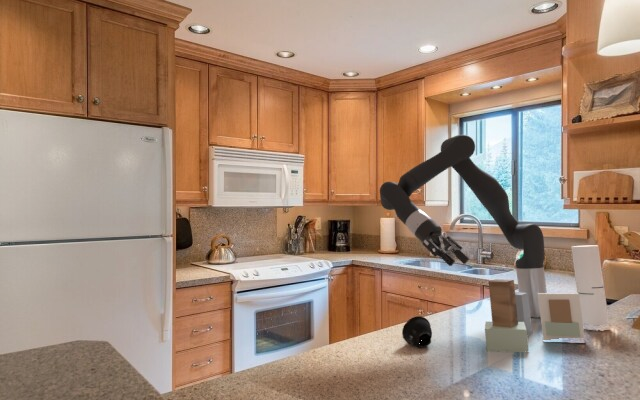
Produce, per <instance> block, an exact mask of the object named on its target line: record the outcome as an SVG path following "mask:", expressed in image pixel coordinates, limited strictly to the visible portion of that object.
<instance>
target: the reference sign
mask: <svg viewBox="0 0 640 400" xmlns="http://www.w3.org/2000/svg"><path fill="white" fill-rule="evenodd" d="M538 300H539V308H540V317H539V318H540V325H541V332H542V341H543V340H551V339H559V338H585V339H586V337H585V330H584V328H583V320H582V312H581V305H580V297H579V293H578V292H557V293H556V292H547V293H538Z"/></svg>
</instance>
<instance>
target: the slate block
mask: <svg viewBox="0 0 640 400" xmlns="http://www.w3.org/2000/svg"><path fill="white" fill-rule="evenodd" d="M515 297H516V307H517V318H518V322H524V324H525V327H526V331H527V337H528V336H529V335H531V334H533V328H532V327H533V326H532V319H531V318H532V317H530V308H529V300H528V293H519V291H518V292H517V291H515Z"/></svg>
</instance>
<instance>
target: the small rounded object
mask: <svg viewBox="0 0 640 400" xmlns="http://www.w3.org/2000/svg"><path fill="white" fill-rule="evenodd" d="M431 326H432V325H431V323H430V321H429V320H428V319H427V318H426V317H424V316H421V315H420V316H418V315H417V316H413V317H411V318H409V319H408V320H407V321H406V322H405V323H404V325H403V328H402V332H401V335H402V338H403V340H404V341H405V343H408V344H409V345H412V346H414V347H418V348H419V347H422V348H425V347H429V345H431V343H432V336H433V332H432V327H431ZM421 340H422V341H421ZM419 343H420V344H419Z"/></svg>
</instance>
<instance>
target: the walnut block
mask: <svg viewBox="0 0 640 400" xmlns="http://www.w3.org/2000/svg"><path fill="white" fill-rule="evenodd" d="M515 287H516V286H515V280H514V279H500V278H499V279H497V278H496V279H492V280H488V289H489V290H488V291H489V301H490V302H489V303H490V311H491V312H490V313H491V322H492V324H493V326H501V327H511V328H512V327H513V326H515V325H517V324H518V318H517V307H516V297H515V292H516V289H515Z"/></svg>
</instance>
